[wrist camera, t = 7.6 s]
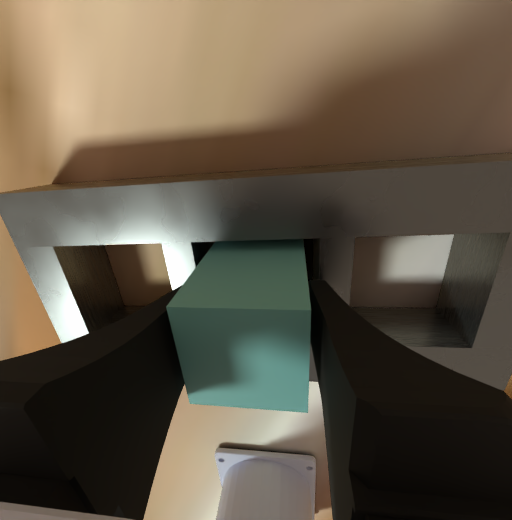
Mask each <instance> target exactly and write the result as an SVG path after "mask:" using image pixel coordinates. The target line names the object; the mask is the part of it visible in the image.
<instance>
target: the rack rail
mask: <svg viewBox="0 0 512 520" xmlns="http://www.w3.org/2000/svg"><path fill="white" fill-rule="evenodd" d="M0 215H1V217H2V219H3V221H4V223H5V225H6V227H7V229H8V231H9V234H10V236H11V238H12V240H13V242H14V244H15V246H16V248H17V250H18V252H19V255H20V257H21V259H22V261H23V263H24V265H25V267H26V269H27V271H28V273H29V275H30V278H31V280H32V282H33V284H34V286H35V288H36V290H37V292H38V294H39V296H40V298H41V301H42V303H43V305H44V307H45V309H46V311H47V313H48V315H49V317H50V319H51V322H52V324H53V326H54V328H55V330H56V332H57V334H58V336H59V338H60V340H61V342H62V343H64V342H67V341H70V340H73V339H75V338H78V337H81V336H83V335H86V334H88V333H91V332H94V331H96V330H99V329H101V328H104V327H106V326H108V325H110V324H112V323H115V322H117V321H119V320H121V319H123V318H125V317H127V316H129V315H131V314H133V313H135V312H136V311H138V310H140V309H142V308H144V307H145V306H124V305H123V302H122V299H121V296H120V293H119V290H118V287H117V284H116V281H115V278H114V275H113V272H112V269H111V266H110V263H109V260H108V257H107V254H106V251H105V248H104V245H116V244H148V243H161V244H162V248H163V252H164V257H165V261H166V265H167V269H168V274H169V278H170V282H171V286H172V291H173V290H174V289H176V288H178V287H180V286H181V285H183V284H184V283H185V281H186V280H187V279H188V277H189V276H190V275H191V273H192V272H193V271H194V269H195V268H196V267H197V265H198V264H199V263H200V261H201V260H202V259H203V257H204V256H205V255H206V253H207V252H208V251H209V249H210V248H211V247H212V245H213V244H214V241H247V240H280V239H313V280H325V281H326V282H327V283H328V284H329V285H330V286H331V287H332V288H333V290H334V291H335V292H336V293H337V294H338V295H339V296H340V297H341V298H342V299H343V300H344V301H345V302H346V303H347V304H348V305H350V293H351V281H352V269H353V257H354V244H355V237H378V236H411V235H444V234H454V238H453V242H452V246H451V250H450V254H449V258H448V262H447V266H446V271H445V275H444V279H443V283H442V287H441V291H440V295H439V299H438V303H437V308H352V309H353V310H354V311H356V312H357V313H358V314H359V315H360V316H362V317H363V318H364V319H365V320H366V321H368V322H369V323H370V324H372V325H373V326H375V327H376V328H377V329H379V330H380V331H382V332H383V333H385V334H386V335H388V336H389V337H391V338H392V339H394V340H396V341H397V342H399V343H401V344H403V345H404V346H406V347H408V348H409V349H411V350H413V351H415V352H417V353H419V354H421V355H422V356H424V357H426V358H428V359H430V360H432V361H434V362H437V363H439V364H441V365H443V366H445V367H447V368H449V369H451V370H453V371H456V372H458V373H461V374H463V375H465V376H468V377H470V378H473V379H475V380H478V381H480V382H483V383H485V384H487V385H490V386H492V387H495V388H497V389H500V390H505V388H506V386H507V383H508V381H509V379H510V376H511V374H512V153H497V154H483V155H469V156H454V157H440V158H425V159H411V160H396V161H382V162H367V163H353V164H338V165H324V166H309V167H295V168H280V169H266V170H251V171H237V172H222V173H208V174H193V175H179V176H164V177H150V178H135V179H121V180H106V181H92V182H77V183H63V184H50V185H44V186H38V187H32V188H26V189H20V190H14V191H8V192H2V193H0ZM309 381H314V382H318V378H317V373H316V368H315V363H314V357H313V352H312V347H311V340H310V362H309Z"/></svg>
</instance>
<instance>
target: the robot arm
mask: <svg viewBox="0 0 512 520" xmlns="http://www.w3.org/2000/svg"><path fill="white" fill-rule="evenodd" d="M181 287H182V285H181V286H180V287H178V288H176V289H174V290H173V291H171V292H169V293H168V294H166V295H164V296H163V297H161V298H159V299H158V300H156V301H154V302H153V303H151V304H149V305H147V306H145V307H144V308H142V309H140V310H138V311H136V312H135V313H133V314H131V315H129V316H127V317H125V318H123V319H121V320H119V321H117V322H115V323H112V324H110V325H108V326H106V327H104V328H101V329H99V330H96V331H94V332H91V333H88V334H86V335H83V336H81V337H78V338H75V339H73V340H70V341H67V342H64V343H61V344H58V345H55V346H52V347H49V348H46V349H43V350H39V351H36V352H33V353H29V354H26V355H22V356H18V357H14V358H10V359H6V360H2V361H0V520H143V518H144V514H145V511H146V507H147V503H148V499H149V495H150V491H151V487H152V484H153V480H154V477H155V473H156V469H157V466H158V462H159V459H160V455H161V452H162V448H163V445H164V442H165V439H166V436H167V432H168V429H169V426H170V423H171V420H172V417H173V414H174V411H175V408H176V405H177V402H178V399H179V396H180V394H181V391H182V389H183V386H184V384H185V382H184V378H183V374H182V370H181V366H180V362H179V357H178V353H177V349H176V345H175V341H174V337H173V333H172V329H171V325H170V321H169V317H168V313H167V308H166V306H167V305H168V304H169V302H170V301H171V300H172V299H173V297H174V296H175V295H176V293H177V292H178V291H179V289H180V288H181ZM309 296H310V304H311V331H310V340H311V347H312V352H313V357H314V363H315V368H316V373H317V378H318V383H319V388H320V393H321V400H322V407H323V417H324V427H325V437H326V448H327V458H328V469H329V481H330V492H331V504H332V516H333V520H512V400H511V398H510V397H509V396H508V395H507V394H506V393H505V392H504V391H502V390H500V389H497V388H495V387H492V386H490V385H487V384H485V383H483V382H480V381H478V380H475V379H473V378H470V377H468V376H465V375H463V374H461V373H458V372H456V371H453V370H451V369H449V368H447V367H445V366H443V365H441V364H439V363H437V362H434V361H432V360H430V359H428V358H426V357H424V356H422V355H421V354H419V353H417V352H415V351H413V350H411V349H409V348H408V347H406V346H404V345H403V344H401V343H399V342H397V341H396V340H394V339H392V338H391V337H389V336H388V335H386V334H385V333H383V332H382V331H380V330H379V329H377V328H376V327H375V326H373V325H372V324H370V323H369V322H368V321H366V320H365V319H364V318H363V317H362V316H360V315H359V314H358V313H357V312H356V311H354V310H353V309H352V308H351V307H350V306H349V305H348V304H347V303H346V302H345V301H344V300H343V299H342V298H341V297H340V296H339V295H338V294H337V293H336V292H335V291H334V290H333V288H332V287H331V286H330V285H329V284H328V283H327V282H326V281H325V280H309ZM215 459H216V464H217V468H218V472H219V477H220V481H221V486H222V491H221V496H220V501H219V506H218V511H217V516H216V520H314V515H315V481H316V460H315V458H314V457H313V456H310V455H300V454H288V453H277V452H265V451H253V450H241V449H230V448H217V449H216V451H215Z"/></svg>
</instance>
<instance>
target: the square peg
mask: <svg viewBox="0 0 512 520" xmlns="http://www.w3.org/2000/svg"><path fill="white" fill-rule="evenodd" d="M166 308H167V313H168V317H169V321H170V325H171V329H172V333H173V337H174V341H175V345H176V349H177V353H178V357H179V362H180V366H181V370H182V374H183V378H184V382H185V386H186V390H187V394H188V398H189V402H190V404H201V405H214V406H227V407H240V408H253V409H266V410H279V411H292V412H305V413H308V393H309V362H310V331H311V304H310V296H309V287H308V278H307V269H306V260H305V251H304V243H303V239H280V240H247V241H215V243H214V244H213V245H212V247H211V248H210V249H209V251H208V252H207V253H206V255H205V256H204V257H203V259H202V260H201V261H200V263H199V264H198V265H197V267H196V268H195V269H194V271H193V272H192V273H191V275H190V276H189V277H188V279H187V280H186V281H185V283H184V284H183V285H182V287H181V288H180V289H179V291H178V292H177V293H176V295H175V296H174V297H173V299H172V300H171V301H170V302H169V304H168V305H167V306H166Z"/></svg>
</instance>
